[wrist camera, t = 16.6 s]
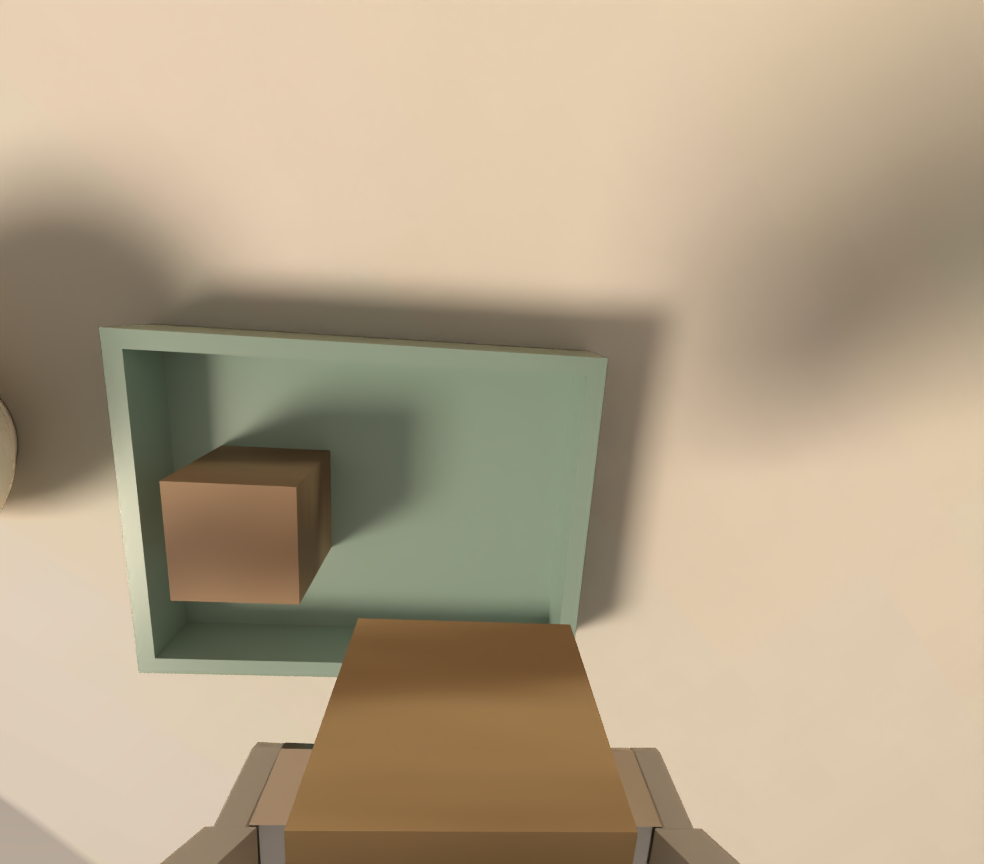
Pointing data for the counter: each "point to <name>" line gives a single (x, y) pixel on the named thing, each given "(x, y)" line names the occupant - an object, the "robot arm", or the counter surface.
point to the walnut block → (247, 524)
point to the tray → (360, 482)
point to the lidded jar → (7, 453)
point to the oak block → (461, 753)
